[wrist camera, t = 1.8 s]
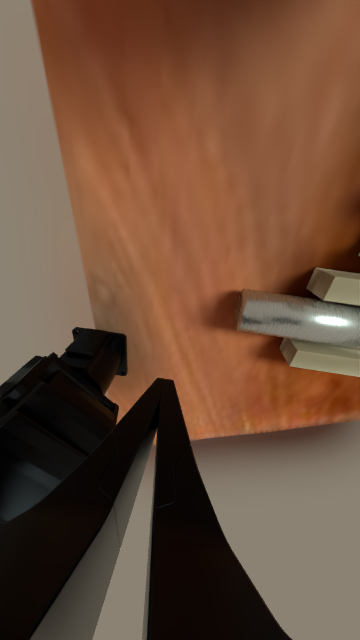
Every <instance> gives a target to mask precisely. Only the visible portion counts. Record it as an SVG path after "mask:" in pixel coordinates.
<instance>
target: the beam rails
mask: <svg viewBox="0 0 360 640" xmlns="http://www.w3.org/2000/svg"><path fill="white" fill-rule="evenodd" d="M306 289H308V290H309V291H311V292H312V293H313V294H315V295H316V296H318V297H319V298H321V299H322V300H324V301H331V302H339V303H346V304H353V305H360V273H353V272H345V271H338V270H330V269H323V268H315V270H314V272H313V274H312V276H311V278H310V281H309V283H308V285H307V287H306ZM279 349H280V351H281V352H282V354H283V356H284V357H285V359H286V361H287V363H288V364H289V366H292V367H298V368H305V369H312V370H318V371H325V372H331V373H338V374H345V375H351V376H358V377H360V350H359V349H357V348H352V347H345V346H338V345H331V344H324V343H318V342H311V341H304V340H297V339H290V338H283V341H282V343H281V345H280V347H279Z"/></svg>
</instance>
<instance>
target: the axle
mask: <svg viewBox="0 0 360 640" xmlns="http://www.w3.org/2000/svg"><path fill="white" fill-rule="evenodd" d="M234 326H235V329H236V330H237V331H243V332H250V333H256V334H263V335H270V336H277V337H284V338H290V339H297V340H304V341H311V342H318V343H324V344H331V345H338V346H345V347H352V348H358V349H360V305H353V304H346V303H339V302H331V301H324V300H321V299H314V298H306V297H299V296H292V295H285V294H278V293H270V292H263V291H256V290H249V289H243V290H242V291H241V292H240V294H239V297H238V301H237V304H236V308H235V313H234Z"/></svg>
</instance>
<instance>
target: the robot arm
mask: <svg viewBox="0 0 360 640" xmlns="http://www.w3.org/2000/svg"><path fill="white" fill-rule="evenodd" d="M77 331H78V332H77ZM72 333H73V338H74V341H73V343H71V344H70V345H69V346H68V347H67V348H66V350H65V351H66V352H65V353H64V354H63V355H62V356H61V357H60V358H58V357H57V356H58V355H56V354H55V353H54V352H53V353H52V354H50V355H49V356H48V357H46V356H45V357H40V356H35V357H34V358H32V359H31V360H30V361H29V362H28V363H26V364H25V365H24V366H23V367H22V368H21V369H19V370H18V371H17V372H16V373H15V374H13V375H12V376H11V377H10V378H9V379H8V380H7V381H5V382H4V383H3V384H2V385H1V386H0V640H92V638H93V635H94V632H95V629H96V625H97V622H98V619H99V616H100V612H101V609H102V606H103V603H104V600H105V596H106V593H107V589H108V586H109V583H110V580H111V577H112V574H113V570H114V567H115V564H116V560H117V557H118V554H119V551H120V547H121V544H122V541H123V538H124V535H125V531H126V528H127V525H128V522H129V518H130V515H131V512H132V509H133V505H134V502H135V499H136V496H137V492H138V489H139V486H140V483H141V480H142V476H143V473H144V470H145V466H146V463H147V460H148V457H149V453H150V450H151V447H152V444H153V441H154V437H155V434H156V431H157V441H156V455H155V469H154V482H153V497H152V509H151V523H150V537H149V550H148V564H147V578H146V592H145V606H144V619H143V633H142V640H292V639H291V638H290V637H289V636H288V635H287V634H286V633H285V632H284V630H283V629H282V628H281V627H280V625H279V624H278V623H277V621H276V620H275V618H274V616H273V615H272V613H271V612H270V610H269V608H268V607H267V605H266V604H265V602H264V600H263V599H262V597H261V596H260V594H259V592H258V591H257V589H256V588H255V586H254V585H253V583H252V581H251V580H250V578H249V576H248V575H247V574H246V572H245V570H244V569H243V567H242V565H241V564H240V562H239V560H238V559H237V557H236V556H235V554H234V552H233V551H232V549H231V547H230V546H229V544H228V542H227V540H226V538H225V536H224V533H223V531H222V529H221V527H220V524H219V522H218V520H217V517H216V514H215V512H214V509H213V507H212V504H211V502H210V499H209V497H208V494H207V492H206V489H205V486H204V484H203V481H202V478H201V476H200V473H199V470H198V467H197V464H196V461H195V457H194V454H193V450H192V447H191V444H190V439H189V436H188V432H187V428H186V425H185V421H184V417H183V414H182V410H181V406H180V403H179V399H178V395H177V392H176V388H175V384H174V381H173V380H170V379H164V378H157V379H156V380H155V381H154V382H153V383H152V385H151V386H150V387H149V388H148V389H147V390H146V392H145V393H144V394H143V395H142V396H141V397H140V398H139V400H138V401H137V402H136V403H135V404H134V405H133V406H132V408H131V409H130V410H129V411H128V412H127V413H126V415H125V416H124V417H123V418H122V419H121V420H120V421H119V423H118V424H117V425H116V422H117V416H118V410H119V406H118V405H117V404H116V403H113V402H112V401H111V400H109V399H108V398H107V397H106V396H104V395H105V393H106V391H107V389H108V387H109V386H110V384H111V382H112V380H113V378H114V376H115V375H120V376H126V374H127V338H126V336H125V335H124V334H119V333H113V332H107V331H101V330H95V329H88V328H87V329H86V328H79V327H76V328H74V329H73V330H72ZM121 338H123V339H121ZM157 427H158V428H157Z"/></svg>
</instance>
